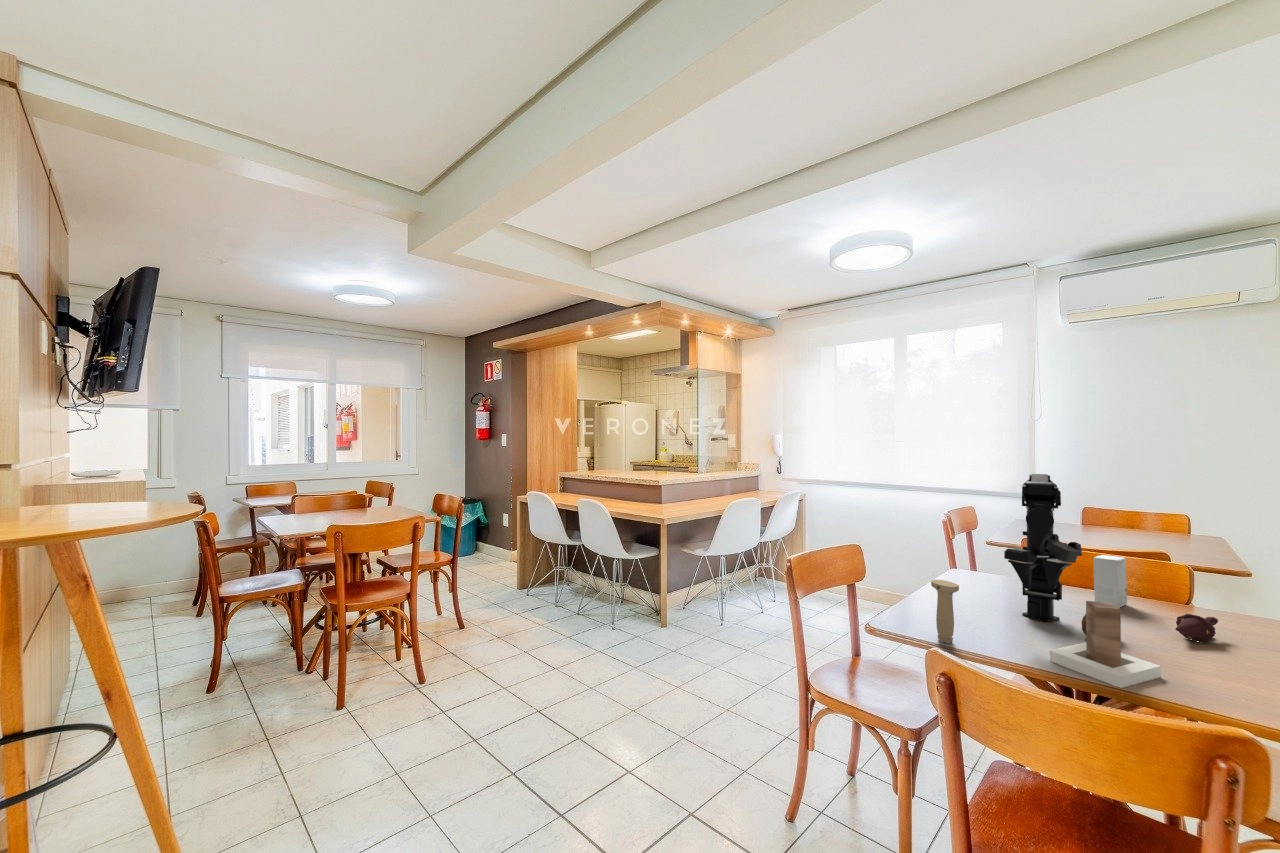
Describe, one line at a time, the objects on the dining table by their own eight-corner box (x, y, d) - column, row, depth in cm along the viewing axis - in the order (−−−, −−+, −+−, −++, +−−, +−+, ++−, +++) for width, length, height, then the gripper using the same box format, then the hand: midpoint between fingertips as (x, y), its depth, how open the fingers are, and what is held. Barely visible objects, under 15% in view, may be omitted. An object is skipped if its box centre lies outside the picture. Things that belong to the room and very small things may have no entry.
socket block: (1088, 652, 129) (1088, 641, 129) (1160, 677, 116) (1160, 665, 116) (1049, 660, 124) (1049, 650, 124) (1120, 688, 111) (1120, 676, 111)
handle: (940, 635, 140) (940, 578, 140) (963, 644, 134) (963, 585, 134) (927, 638, 138) (927, 581, 138) (950, 647, 132) (949, 587, 132)
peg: (1086, 660, 123) (1086, 600, 123) (1110, 663, 122) (1109, 602, 122) (1096, 669, 119) (1096, 607, 119) (1121, 671, 117) (1120, 609, 117)
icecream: (1200, 625, 129) (1237, 624, 134) (1164, 608, 136) (1200, 607, 141) (1189, 650, 131) (1226, 647, 135) (1154, 632, 138) (1190, 630, 142)
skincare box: (1118, 610, 159) (1117, 560, 159) (1092, 604, 164) (1092, 556, 164) (1127, 605, 163) (1127, 557, 163) (1102, 599, 168) (1102, 553, 168)
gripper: (1046, 532, 130) (1046, 597, 129) (1098, 533, 135) (1099, 595, 134) (1002, 526, 140) (1002, 586, 139) (1052, 528, 146) (1053, 585, 145)
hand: (1040, 588), depth 139 cm, fingers open, 9 cm apart
